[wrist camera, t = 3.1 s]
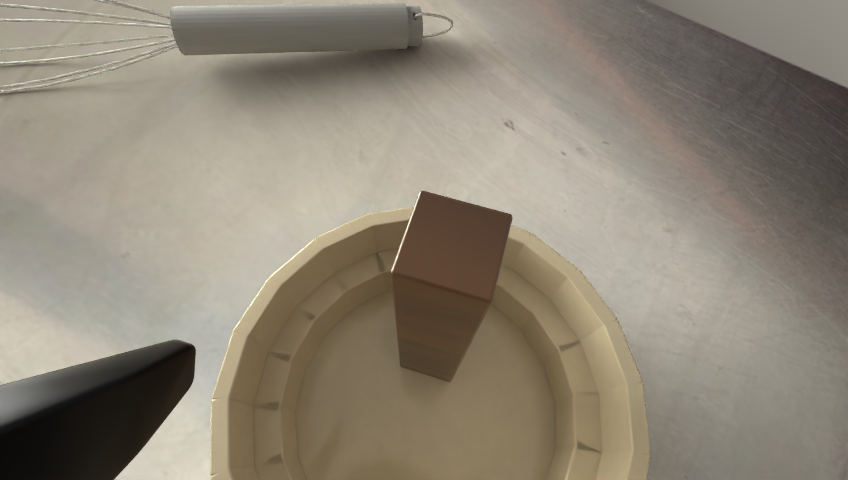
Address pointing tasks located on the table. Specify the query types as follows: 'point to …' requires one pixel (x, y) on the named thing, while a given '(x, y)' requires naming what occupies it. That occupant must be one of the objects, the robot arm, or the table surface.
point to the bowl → (425, 376)
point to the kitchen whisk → (256, 31)
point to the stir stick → (445, 280)
